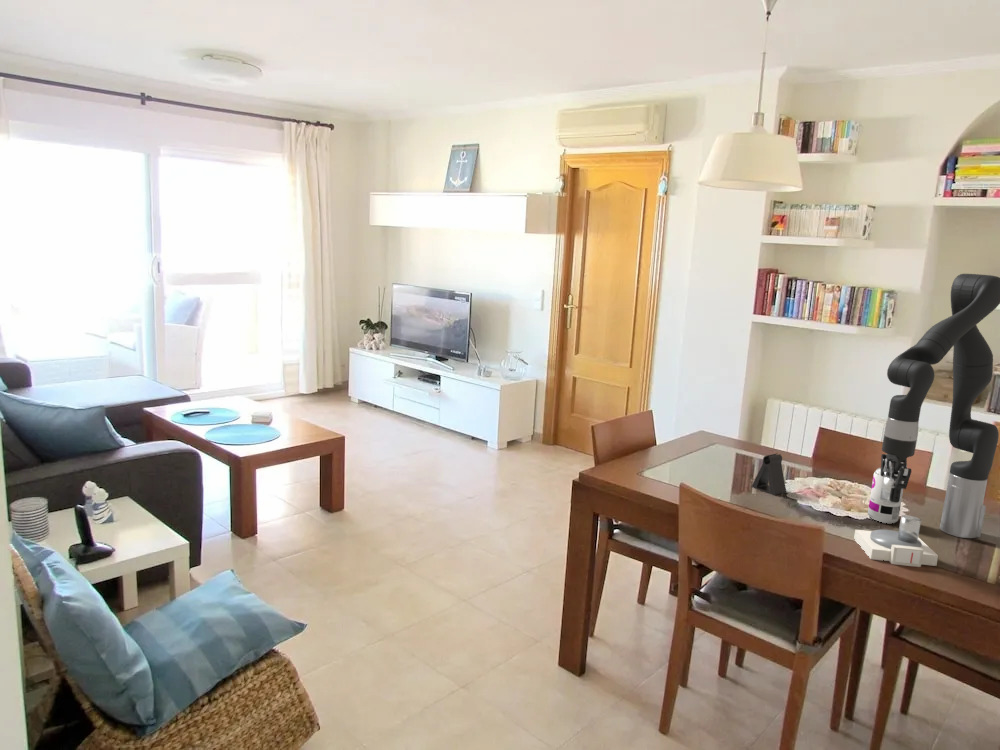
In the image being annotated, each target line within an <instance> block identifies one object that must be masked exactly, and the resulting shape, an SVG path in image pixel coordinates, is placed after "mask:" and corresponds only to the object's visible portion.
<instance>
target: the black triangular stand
mask: <svg viewBox="0 0 1000 750" xmlns="http://www.w3.org/2000/svg"><path fill="white" fill-rule="evenodd" d="M782 460H783V456H782V454H779V453H773V454H767V455H764V456H763V458H762V464H761V466H760V468H759V470H758V473H757V475H756V476H755V478H754V480H753V482H752V485H751V488H753V489H755V490H758V491H761V492H764V493H767V494H769V495H772V496H777V495H781V494H784V493H785V494H786V493H787V488H786V482H785V477H784V470H783V466H782Z"/></svg>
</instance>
